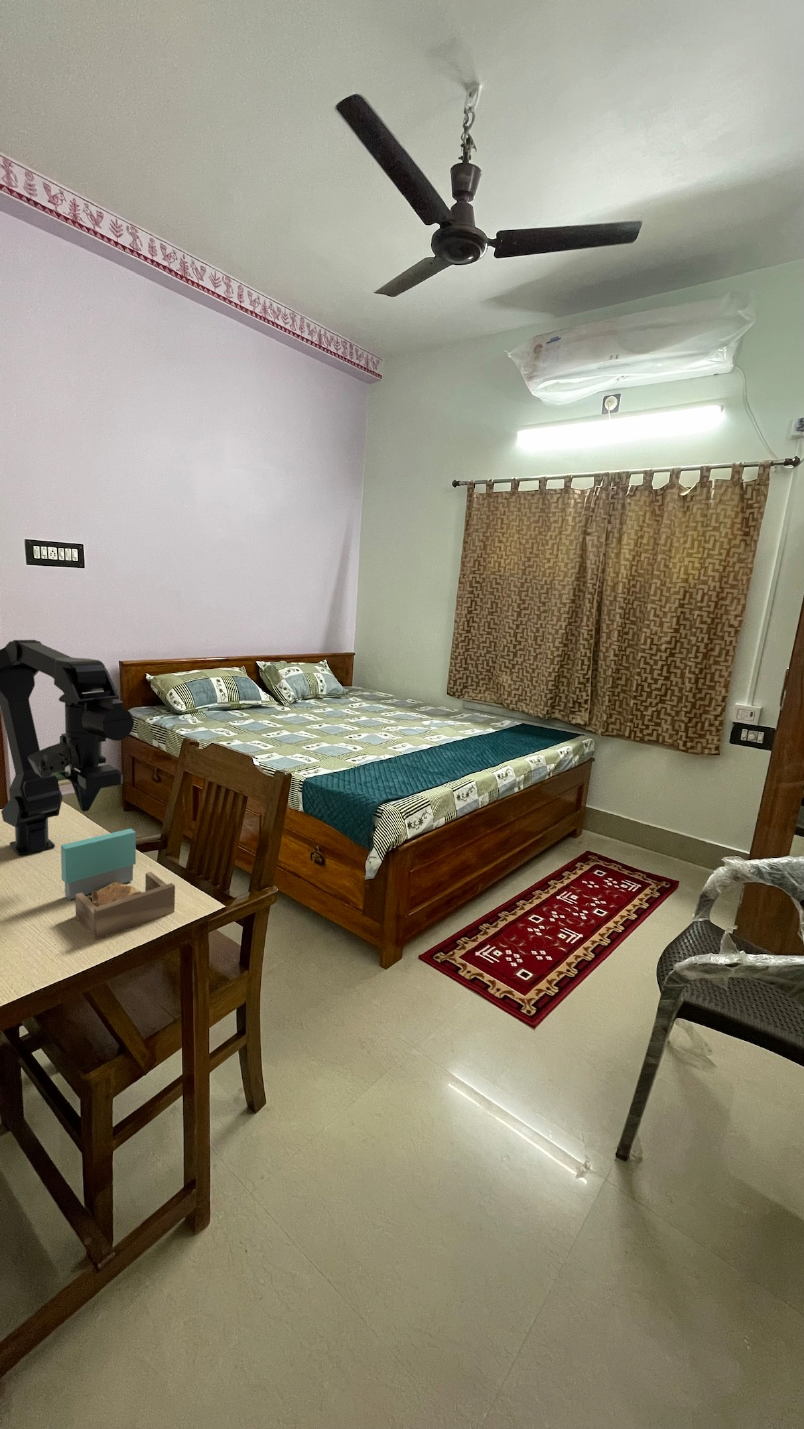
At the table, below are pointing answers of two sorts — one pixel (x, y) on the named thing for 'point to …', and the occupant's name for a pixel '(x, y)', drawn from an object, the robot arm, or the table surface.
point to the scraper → (98, 862)
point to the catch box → (127, 908)
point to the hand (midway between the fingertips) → (84, 810)
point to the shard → (113, 893)
